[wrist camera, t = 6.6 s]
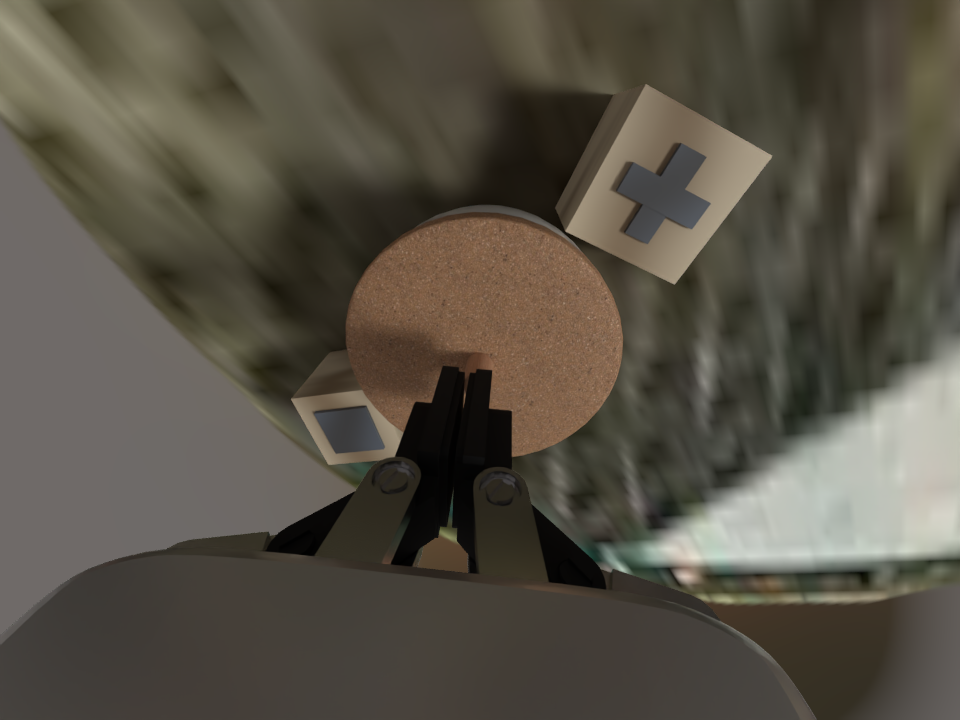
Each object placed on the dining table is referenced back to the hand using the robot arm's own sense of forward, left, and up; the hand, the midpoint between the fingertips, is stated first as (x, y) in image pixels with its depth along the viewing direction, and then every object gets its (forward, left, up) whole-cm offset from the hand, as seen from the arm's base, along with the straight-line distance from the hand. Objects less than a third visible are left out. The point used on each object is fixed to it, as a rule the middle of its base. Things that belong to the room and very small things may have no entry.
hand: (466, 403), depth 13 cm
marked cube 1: (+7, +7, -10) cm, 14 cm away
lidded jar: (0, 0, -10) cm, 10 cm away
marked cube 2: (-6, -6, -10) cm, 13 cm away
